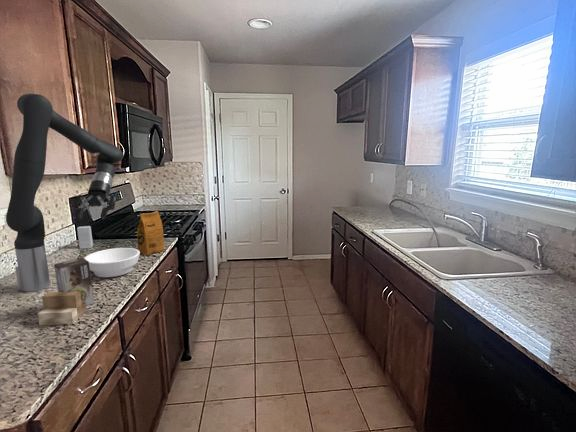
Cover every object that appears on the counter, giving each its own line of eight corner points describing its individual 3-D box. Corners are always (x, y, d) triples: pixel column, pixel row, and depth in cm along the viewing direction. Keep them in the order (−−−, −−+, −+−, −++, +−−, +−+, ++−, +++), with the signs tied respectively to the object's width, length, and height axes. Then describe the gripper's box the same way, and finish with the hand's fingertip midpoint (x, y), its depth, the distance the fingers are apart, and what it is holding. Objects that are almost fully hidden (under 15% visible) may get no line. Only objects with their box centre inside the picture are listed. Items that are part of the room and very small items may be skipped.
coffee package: (135, 252, 177) (132, 212, 172) (157, 247, 186) (154, 209, 182) (145, 256, 170) (141, 215, 166) (166, 250, 180) (163, 211, 176)
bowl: (76, 274, 146) (74, 256, 144) (126, 261, 163) (125, 245, 162) (99, 286, 132) (97, 267, 131) (151, 270, 150) (149, 253, 148)
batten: (39, 325, 103) (37, 313, 102) (45, 320, 105) (43, 309, 105) (73, 323, 104) (71, 312, 103) (78, 319, 106) (76, 307, 106)
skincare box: (93, 245, 189) (91, 225, 187) (91, 247, 185) (89, 227, 183) (81, 246, 187) (78, 226, 185) (79, 248, 183) (76, 228, 181)
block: (45, 319, 105) (41, 296, 104) (55, 311, 111) (52, 289, 109) (78, 318, 106) (75, 295, 105) (86, 310, 112) (83, 288, 110)
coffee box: (88, 298, 121) (83, 257, 118) (95, 303, 117) (89, 260, 114) (59, 307, 115) (53, 263, 111) (65, 312, 111) (59, 267, 107)
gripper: (78, 179, 131) (66, 212, 122) (115, 179, 132) (106, 212, 123) (86, 191, 137) (75, 223, 128) (122, 190, 139) (113, 222, 130)
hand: (90, 217), depth 126 cm, fingers open, 8 cm apart
